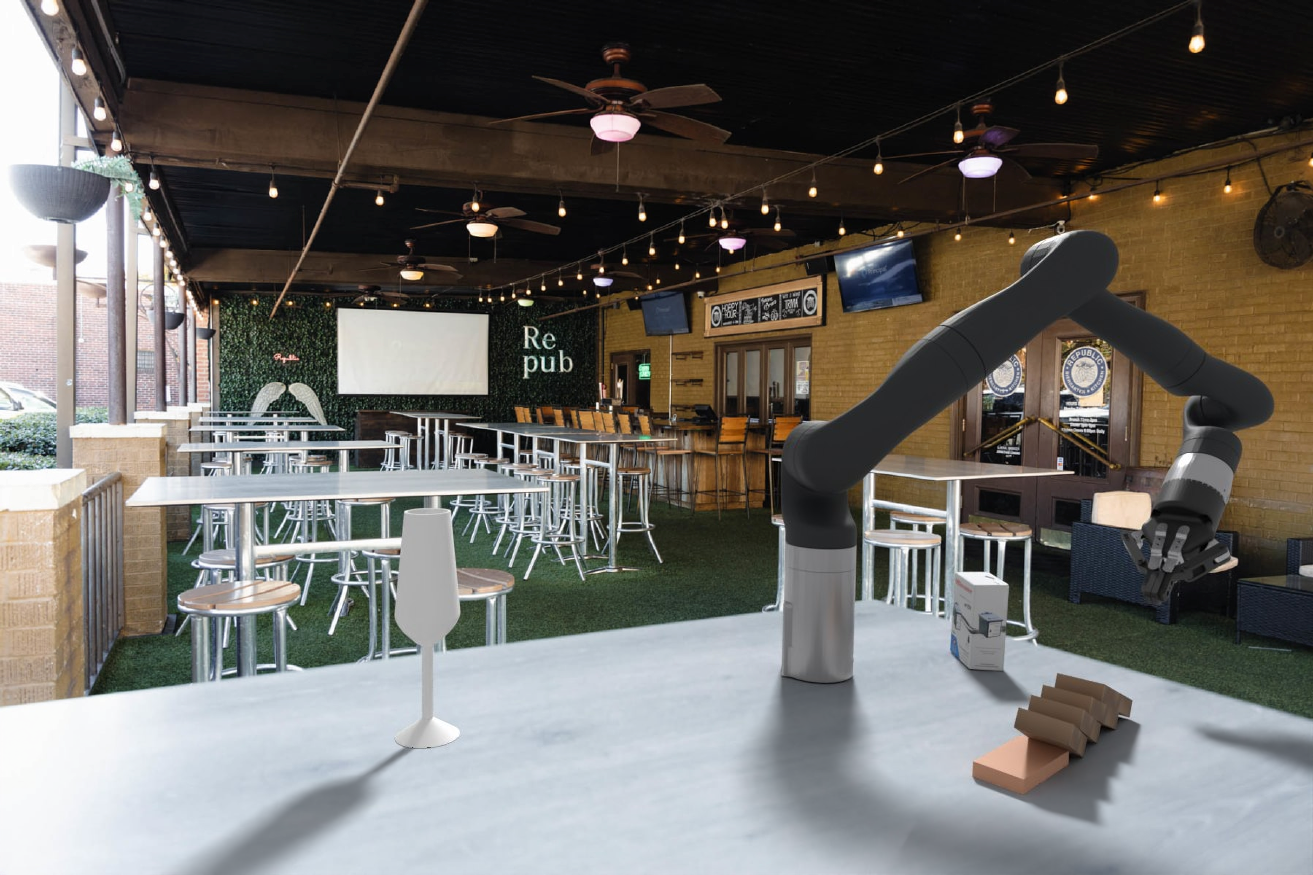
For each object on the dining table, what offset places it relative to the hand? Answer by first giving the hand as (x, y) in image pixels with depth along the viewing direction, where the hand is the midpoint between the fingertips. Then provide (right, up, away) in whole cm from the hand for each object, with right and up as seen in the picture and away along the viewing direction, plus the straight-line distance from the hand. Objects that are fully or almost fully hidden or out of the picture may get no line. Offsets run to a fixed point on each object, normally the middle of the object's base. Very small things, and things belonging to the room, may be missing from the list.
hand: (1152, 600), depth 106 cm
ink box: (-17, -11, +13) cm, 24 cm away
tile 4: (-19, -11, -16) cm, 28 cm away
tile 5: (-22, -12, -18) cm, 31 cm away
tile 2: (-12, -11, -9) cm, 18 cm away
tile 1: (-8, -11, -5) cm, 15 cm away
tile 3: (-16, -11, -13) cm, 23 cm away
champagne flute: (-86, -12, -15) cm, 88 cm away
